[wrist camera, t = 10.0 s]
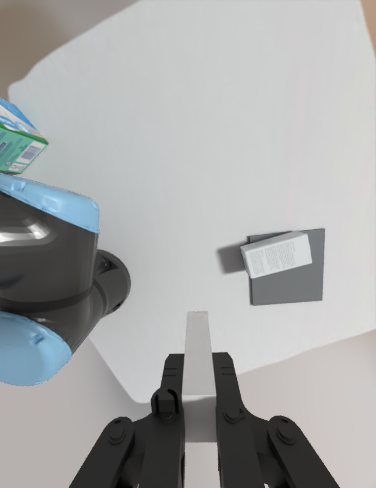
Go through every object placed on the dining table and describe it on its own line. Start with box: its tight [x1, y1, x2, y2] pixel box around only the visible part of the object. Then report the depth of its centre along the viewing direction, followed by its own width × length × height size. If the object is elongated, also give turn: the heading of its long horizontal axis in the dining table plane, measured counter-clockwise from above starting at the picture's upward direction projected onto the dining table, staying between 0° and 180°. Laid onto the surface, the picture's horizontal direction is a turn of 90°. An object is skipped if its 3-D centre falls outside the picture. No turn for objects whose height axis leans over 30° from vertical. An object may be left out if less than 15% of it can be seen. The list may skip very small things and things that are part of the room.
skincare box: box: [240, 231, 312, 279], centre depth 40 cm, size 6×4×12 cm
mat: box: [249, 229, 325, 306], centre depth 43 cm, size 15×16×1 cm
